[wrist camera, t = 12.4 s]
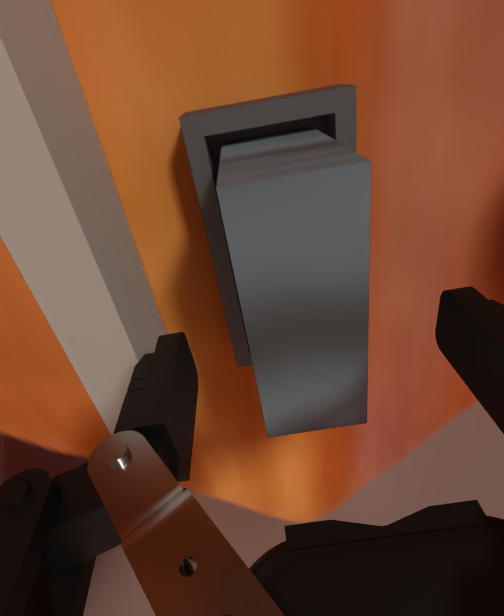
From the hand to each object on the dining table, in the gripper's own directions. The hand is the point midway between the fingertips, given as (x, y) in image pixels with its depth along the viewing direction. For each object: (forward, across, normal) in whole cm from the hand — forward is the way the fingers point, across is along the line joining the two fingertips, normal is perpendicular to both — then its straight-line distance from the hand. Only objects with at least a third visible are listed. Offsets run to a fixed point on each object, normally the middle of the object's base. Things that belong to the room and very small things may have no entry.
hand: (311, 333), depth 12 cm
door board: (+9, +9, 0) cm, 13 cm away
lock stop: (+8, 0, 0) cm, 8 cm away
